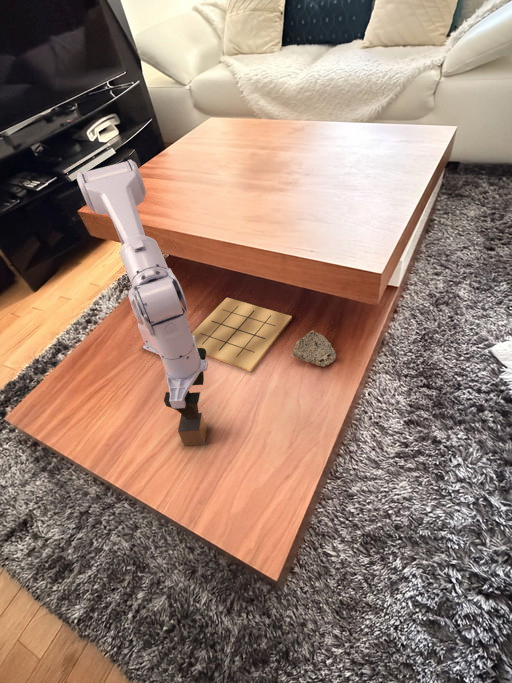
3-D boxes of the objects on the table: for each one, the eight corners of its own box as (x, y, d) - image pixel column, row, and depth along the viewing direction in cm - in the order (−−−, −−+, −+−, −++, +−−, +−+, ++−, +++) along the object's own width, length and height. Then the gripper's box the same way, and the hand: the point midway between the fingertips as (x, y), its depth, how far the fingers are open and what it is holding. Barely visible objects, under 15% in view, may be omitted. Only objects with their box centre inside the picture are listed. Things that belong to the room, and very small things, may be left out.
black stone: (204, 445, 74) (199, 430, 70) (184, 446, 74) (177, 431, 71) (207, 427, 77) (201, 412, 73) (187, 428, 77) (181, 413, 74)
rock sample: (331, 367, 79) (310, 330, 80) (302, 381, 84) (283, 345, 84) (349, 354, 87) (330, 320, 88) (322, 366, 92) (304, 334, 92)
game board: (181, 345, 95) (181, 343, 94) (227, 299, 106) (226, 296, 106) (250, 372, 86) (250, 369, 85) (292, 318, 98) (292, 315, 97)
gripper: (195, 380, 55) (213, 433, 64) (206, 314, 66) (220, 369, 75) (147, 383, 56) (171, 435, 65) (166, 318, 66) (184, 371, 75)
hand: (195, 400), depth 70 cm, fingers open, 7 cm apart
